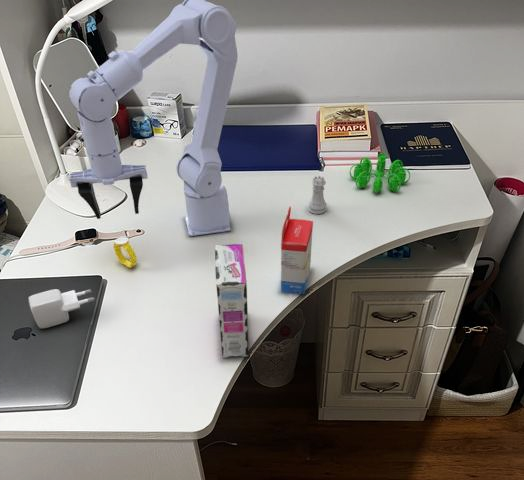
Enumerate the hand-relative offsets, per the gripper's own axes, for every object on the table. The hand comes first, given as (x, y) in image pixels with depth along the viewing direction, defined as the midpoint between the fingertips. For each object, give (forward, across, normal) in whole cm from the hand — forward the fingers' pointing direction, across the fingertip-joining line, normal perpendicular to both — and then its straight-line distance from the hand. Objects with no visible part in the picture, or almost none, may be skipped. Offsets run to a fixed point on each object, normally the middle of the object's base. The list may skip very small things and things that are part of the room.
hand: (117, 213), depth 110 cm
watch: (+10, 0, -4) cm, 11 cm away
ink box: (+10, +33, -18) cm, 39 cm away
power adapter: (+10, -12, -18) cm, 24 cm away
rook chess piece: (+10, +45, +7) cm, 46 cm away
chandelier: (+10, +64, +16) cm, 67 cm away
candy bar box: (+10, +18, -31) cm, 37 cm away
